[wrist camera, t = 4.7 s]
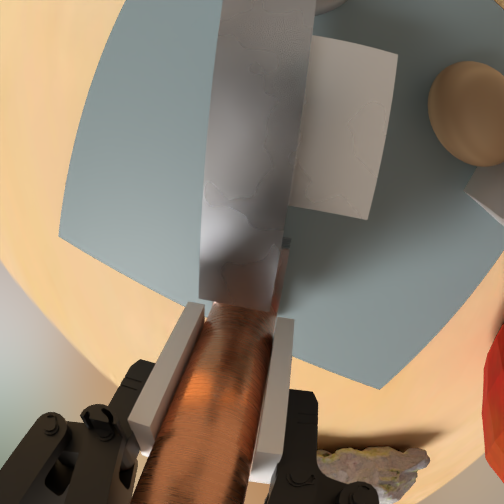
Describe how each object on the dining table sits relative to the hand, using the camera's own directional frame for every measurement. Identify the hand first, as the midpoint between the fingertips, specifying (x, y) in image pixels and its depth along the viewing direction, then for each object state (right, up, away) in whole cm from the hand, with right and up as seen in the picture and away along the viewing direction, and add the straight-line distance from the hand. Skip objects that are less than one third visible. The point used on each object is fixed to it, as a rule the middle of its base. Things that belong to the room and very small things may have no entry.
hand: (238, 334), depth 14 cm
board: (+4, +9, 0) cm, 10 cm away
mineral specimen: (+11, -17, +12) cm, 24 cm away
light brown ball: (+10, +10, -3) cm, 15 cm away
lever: (+2, +9, -2) cm, 9 cm away
